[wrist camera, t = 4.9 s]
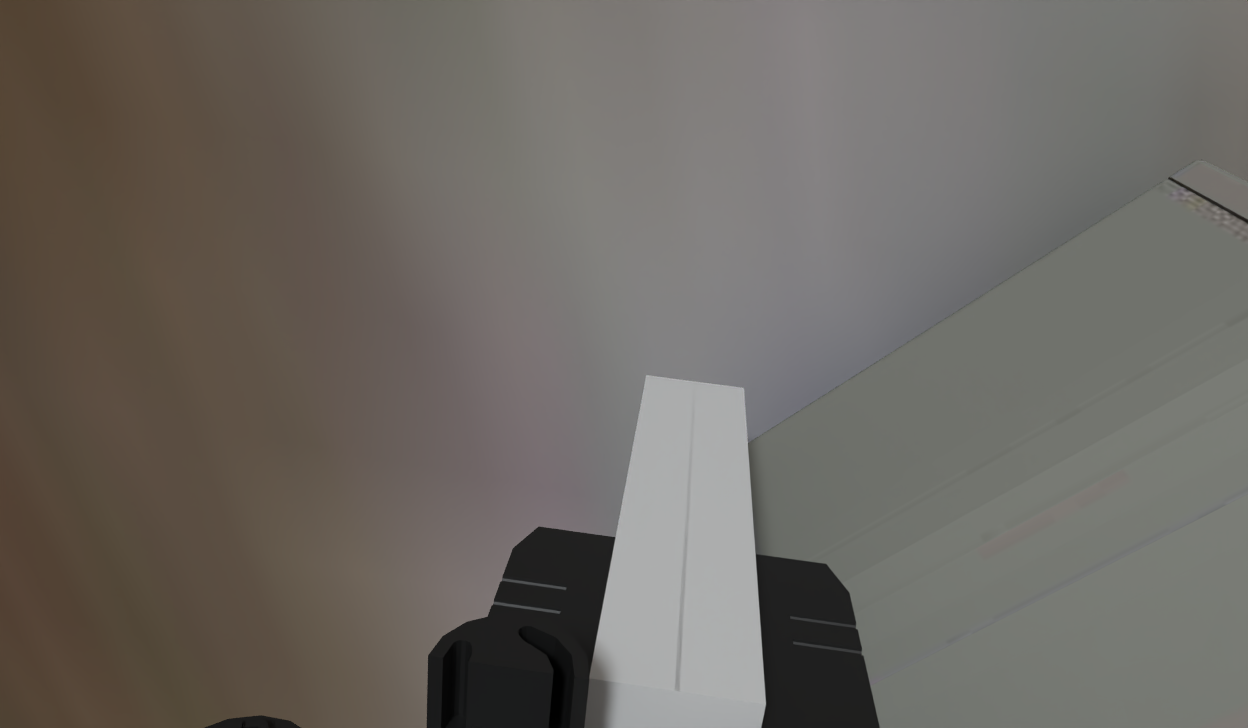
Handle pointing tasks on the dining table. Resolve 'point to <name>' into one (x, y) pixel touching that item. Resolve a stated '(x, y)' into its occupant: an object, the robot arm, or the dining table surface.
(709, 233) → the dining table surface
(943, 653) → the digital clock
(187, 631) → the dining table surface
